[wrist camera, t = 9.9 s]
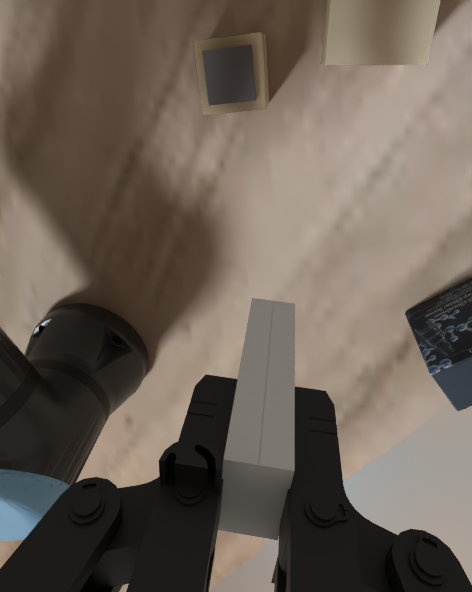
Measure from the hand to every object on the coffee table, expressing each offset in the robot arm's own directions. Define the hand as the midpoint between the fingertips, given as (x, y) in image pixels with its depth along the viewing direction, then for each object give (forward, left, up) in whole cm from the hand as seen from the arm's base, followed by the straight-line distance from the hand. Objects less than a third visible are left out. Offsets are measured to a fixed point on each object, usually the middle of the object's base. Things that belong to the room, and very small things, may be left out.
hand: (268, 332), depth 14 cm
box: (+20, -14, -28) cm, 37 cm away
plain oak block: (+5, +12, -28) cm, 31 cm away
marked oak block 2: (-5, +7, -28) cm, 29 cm away
